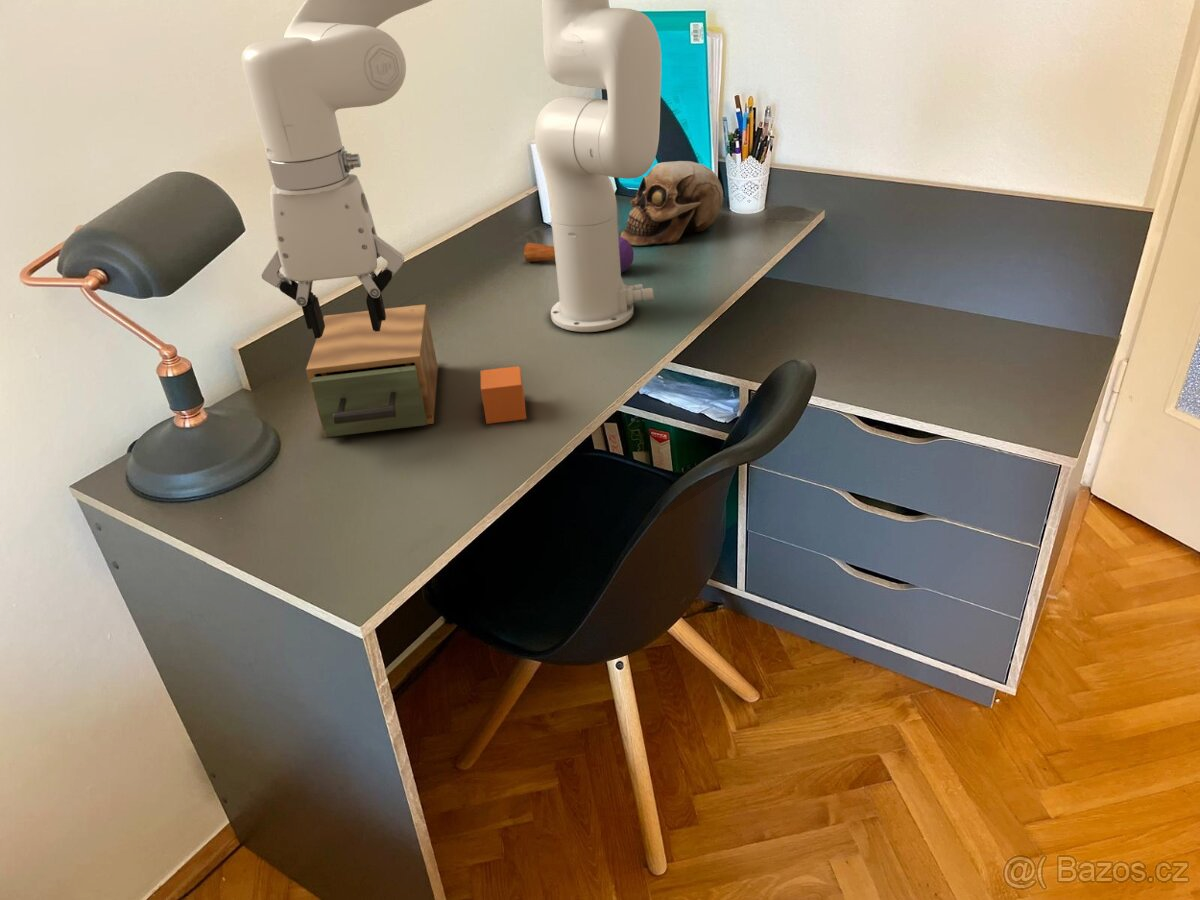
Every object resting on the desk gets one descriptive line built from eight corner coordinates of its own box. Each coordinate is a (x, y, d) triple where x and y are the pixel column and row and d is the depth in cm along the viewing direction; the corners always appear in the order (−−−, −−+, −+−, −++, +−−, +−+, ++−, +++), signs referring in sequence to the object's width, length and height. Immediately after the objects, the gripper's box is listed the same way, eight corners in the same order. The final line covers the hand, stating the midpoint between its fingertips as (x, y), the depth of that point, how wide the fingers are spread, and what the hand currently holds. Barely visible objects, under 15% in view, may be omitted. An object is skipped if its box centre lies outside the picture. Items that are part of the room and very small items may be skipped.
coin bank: (612, 242, 162) (613, 166, 156) (654, 221, 175) (657, 150, 169) (692, 255, 155) (697, 176, 149) (729, 232, 169) (735, 159, 162)
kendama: (536, 232, 158) (638, 234, 149) (539, 266, 161) (640, 270, 152) (518, 237, 154) (622, 240, 145) (521, 272, 156) (624, 277, 147)
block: (524, 399, 117) (519, 365, 114) (526, 419, 113) (521, 384, 110) (486, 404, 117) (480, 370, 114) (486, 424, 112) (480, 389, 110)
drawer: (425, 446, 107) (413, 389, 103) (320, 459, 107) (304, 402, 102) (431, 371, 124) (421, 319, 119) (341, 381, 123) (327, 330, 119)
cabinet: (433, 423, 114) (419, 356, 108) (325, 436, 113) (305, 369, 107) (437, 366, 127) (425, 304, 121) (340, 378, 126) (324, 315, 121)
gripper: (396, 152, 96) (426, 307, 106) (232, 169, 95) (278, 324, 105) (391, 171, 90) (423, 335, 100) (215, 190, 89) (266, 353, 99)
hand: (348, 328), depth 102 cm, fingers open, 5 cm apart
